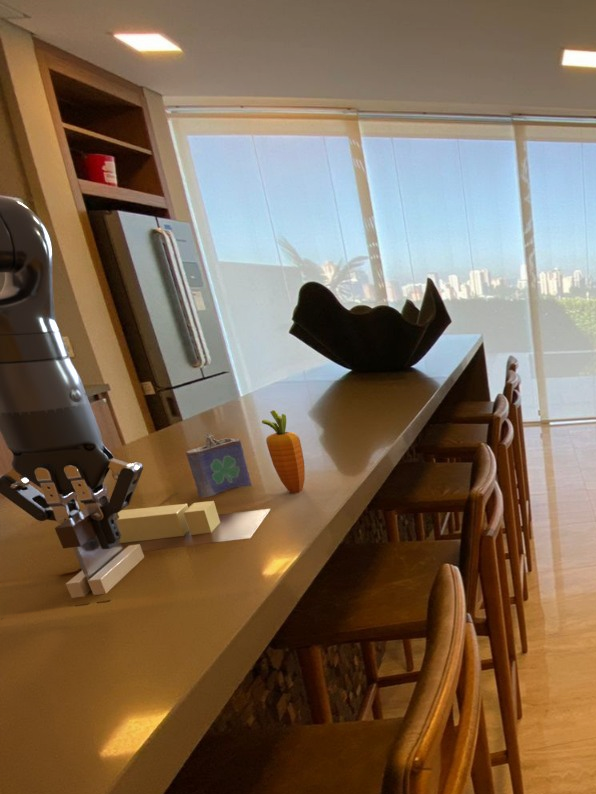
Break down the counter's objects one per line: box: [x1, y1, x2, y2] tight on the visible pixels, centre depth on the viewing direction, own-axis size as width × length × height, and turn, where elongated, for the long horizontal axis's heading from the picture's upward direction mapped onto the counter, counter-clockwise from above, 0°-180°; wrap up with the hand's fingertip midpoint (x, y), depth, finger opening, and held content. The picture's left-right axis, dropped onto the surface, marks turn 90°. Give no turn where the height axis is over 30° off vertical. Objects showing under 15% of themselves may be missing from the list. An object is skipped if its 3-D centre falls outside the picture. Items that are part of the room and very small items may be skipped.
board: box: [121, 508, 271, 553], centre depth 81 cm, size 18×12×1 cm, turn 109°
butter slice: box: [184, 500, 220, 535], centre depth 81 cm, size 2×4×4 cm, turn 19°
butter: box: [116, 503, 189, 543], centre depth 79 cm, size 8×4×4 cm, turn 109°
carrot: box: [261, 409, 306, 494], centre depth 95 cm, size 5×5×15 cm
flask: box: [185, 433, 253, 498], centre depth 97 cm, size 9×3×11 cm, turn 164°
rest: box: [65, 544, 145, 607], centre depth 69 cm, size 10×3×3 cm, turn 19°
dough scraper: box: [54, 507, 123, 593], centre depth 67 cm, size 9×2×10 cm, turn 19°
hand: (98, 547), depth 67 cm, fingers closed on dough scraper, 1 cm apart
